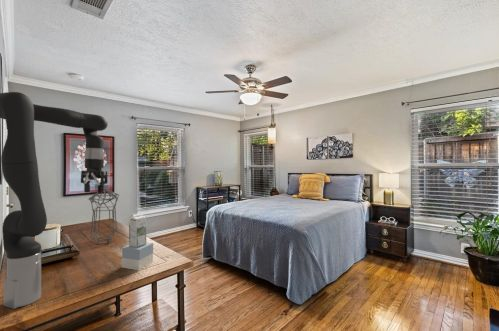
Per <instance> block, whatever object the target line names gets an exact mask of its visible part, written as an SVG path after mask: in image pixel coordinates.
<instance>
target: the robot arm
mask: <svg viewBox="0 0 499 331" xmlns="http://www.w3.org/2000/svg"><path fill="white" fill-rule="evenodd" d="M0 119H2V120H5V124H6V140H5V143H4V146H3V148H2V152H1V155H0V156H1V157H0V158H1V159H0V161H1V168H2V175H3V179H4V180H5V182H6V183H7V185H8V186H9V188H10V189H11V191H12V192H13V193H14V195H16V197H17V199H18V201H19V204H20V209H19V210H18V209H17V210H13V211H11V212H10V213H8V214H7V215H6V216H5V218H4V220H3V223H2V231H1V232H2V246H3V250H4V251H5V253H6V278H4V279H3V307H5V308H6V307H7V308H10V309H12V310H15V309H17V308H18V309H19V308H20V307H25V306H27V305H28V306H29V305H31V304H33V303H35V302H37V301H38V300H40V299H41V297H42V245H41V243H40V242H38V241H36V240H35V239H33V237H37V236H39V235H41V234H43V232H44V231H45V230H46V226H47V223H48V216H47V212H46V209H45V204H44V201H43V197H42V191H41V184H40V178H39V176H40V175H39V166H38V157H37V148H36V142H35V122H43V123H48V124H53V125H58V126H59V125H60V126H64V127H70V128H77V129H82V132H83V134H84V137H85V151H84V168H85V169H86V170H85V169H84V170H81V172H80V183H81V184H83V185H84V187H83V189H84V190H83V191H84V193H90V192H91V183H92V181H95V183H97V192H98V193H99V194H101V193H103V194H104V192H103V189H104V188H105V187H104V186H105V185H106V184H108V171H107V170H103V169H104V164H105V163H104V162H105V159H104V158H105V153H104V138H103V137H102V136H100V135H99V134H98V132H100V131H101V132H102V131H105V130H106V129H107V127H108V123H109V122H108V121H107V119H106V118H105V117H103V116H102V115H99V114H92V113H84V112H80V111H76V110H73V109H72V110H71V109H68V108H62V107H52V106H45V105H40V104H35V103H33V102H32V100H31V98H30V97H29V96H27V95H26V94H24V93H22V92H20V91H19V92H18V91H7V92H0Z"/></svg>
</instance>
